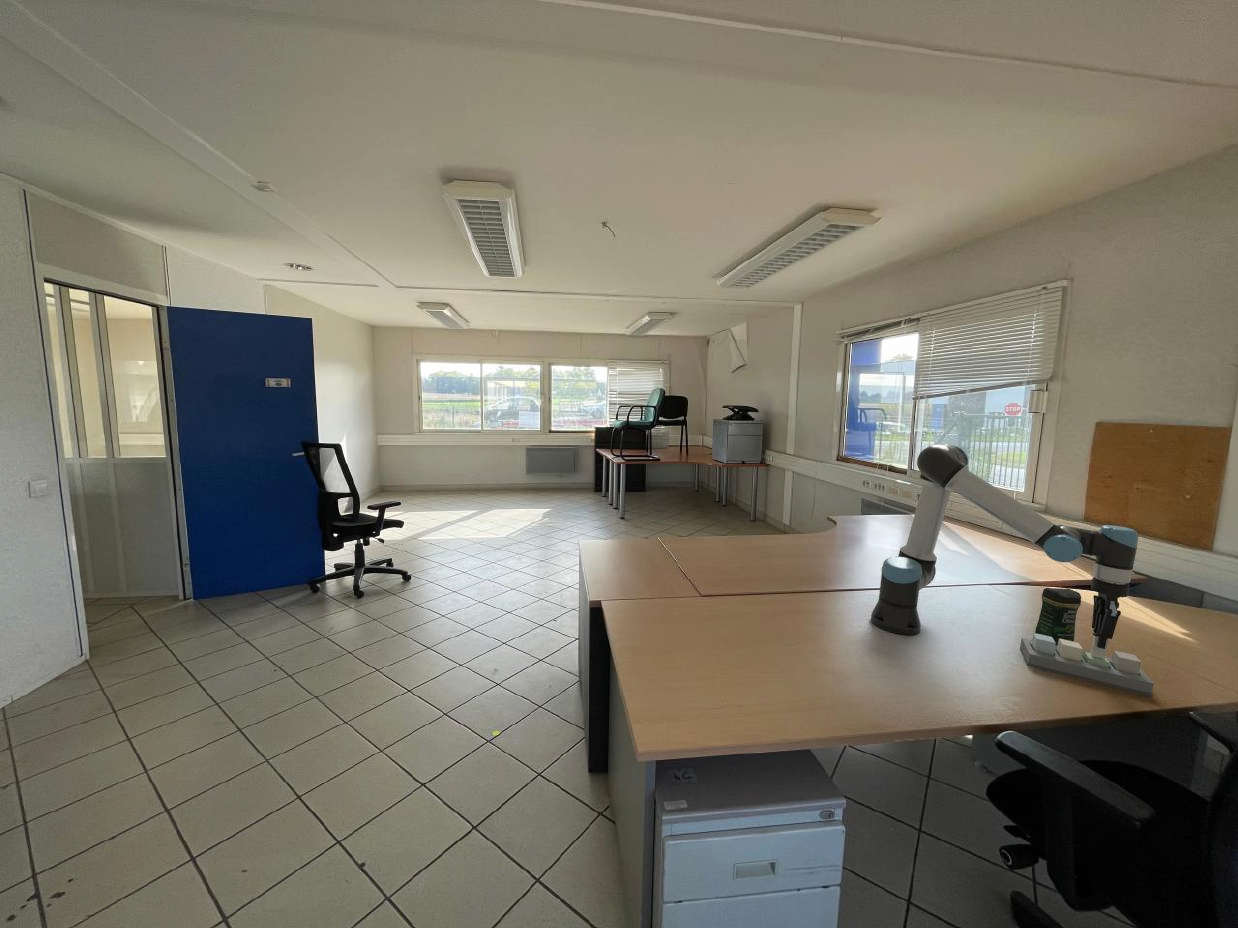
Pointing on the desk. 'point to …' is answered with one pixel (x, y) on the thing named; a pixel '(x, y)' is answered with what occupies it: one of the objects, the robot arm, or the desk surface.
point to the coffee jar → (1058, 613)
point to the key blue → (1043, 643)
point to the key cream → (1069, 649)
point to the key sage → (1096, 660)
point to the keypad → (1086, 670)
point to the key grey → (1126, 662)
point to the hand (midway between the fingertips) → (1097, 656)
